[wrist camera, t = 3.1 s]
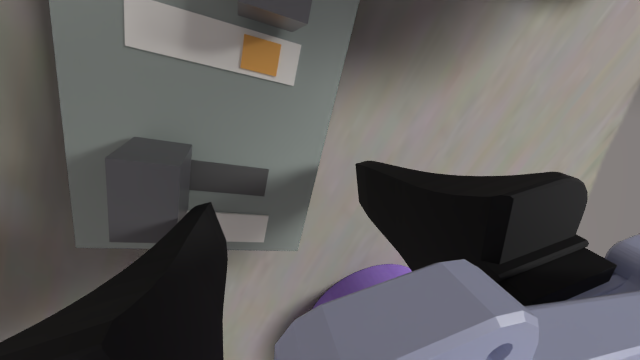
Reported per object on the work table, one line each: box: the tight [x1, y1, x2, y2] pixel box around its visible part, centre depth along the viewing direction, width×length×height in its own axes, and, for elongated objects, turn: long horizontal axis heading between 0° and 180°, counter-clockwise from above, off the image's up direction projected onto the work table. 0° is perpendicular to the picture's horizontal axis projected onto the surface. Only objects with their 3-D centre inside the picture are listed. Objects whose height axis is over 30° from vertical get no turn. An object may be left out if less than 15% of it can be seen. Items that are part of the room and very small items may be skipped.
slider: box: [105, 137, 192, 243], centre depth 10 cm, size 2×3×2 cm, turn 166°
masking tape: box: [312, 264, 412, 309], centre depth 22 cm, size 12×12×4 cm
